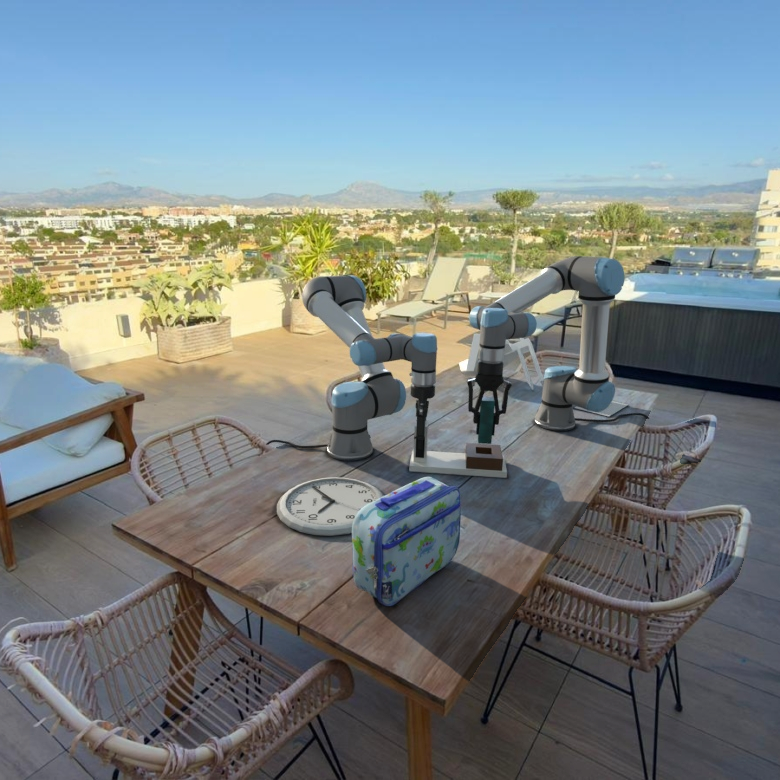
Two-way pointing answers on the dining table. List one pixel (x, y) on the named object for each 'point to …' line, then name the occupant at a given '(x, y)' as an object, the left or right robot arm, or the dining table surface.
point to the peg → (486, 420)
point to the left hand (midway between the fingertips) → (420, 452)
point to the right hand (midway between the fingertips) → (485, 433)
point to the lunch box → (405, 538)
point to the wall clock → (325, 505)
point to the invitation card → (608, 409)
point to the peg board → (460, 460)
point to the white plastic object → (510, 354)
